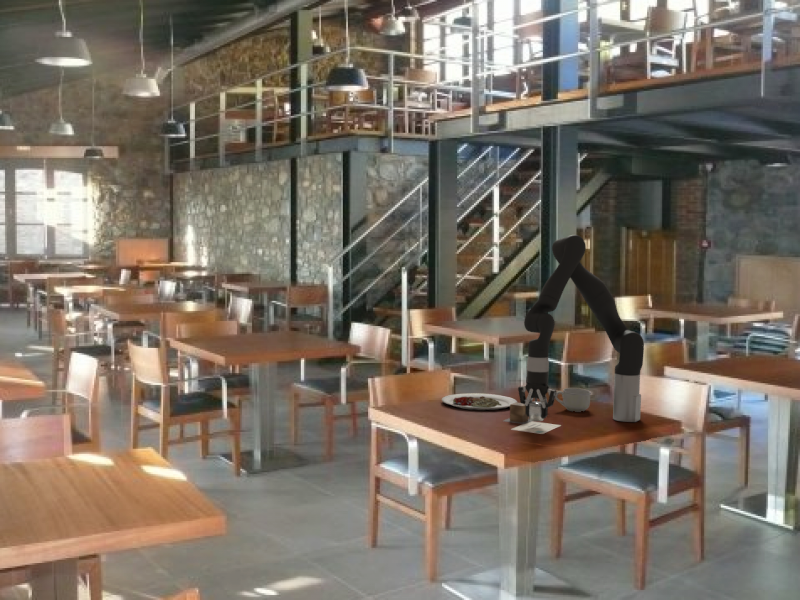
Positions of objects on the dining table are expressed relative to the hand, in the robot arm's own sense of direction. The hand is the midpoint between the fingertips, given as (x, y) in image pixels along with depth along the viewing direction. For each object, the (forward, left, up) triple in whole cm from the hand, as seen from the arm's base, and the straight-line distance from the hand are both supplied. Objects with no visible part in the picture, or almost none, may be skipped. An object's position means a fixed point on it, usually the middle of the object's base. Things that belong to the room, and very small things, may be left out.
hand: (536, 416), depth 321 cm
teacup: (+2, -39, -4) cm, 39 cm away
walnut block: (+10, -7, -4) cm, 12 cm away
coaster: (+10, -7, -4) cm, 13 cm away
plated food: (+37, -28, -5) cm, 46 cm away
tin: (0, 0, -1) cm, 1 cm away
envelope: (0, 0, -4) cm, 4 cm away
